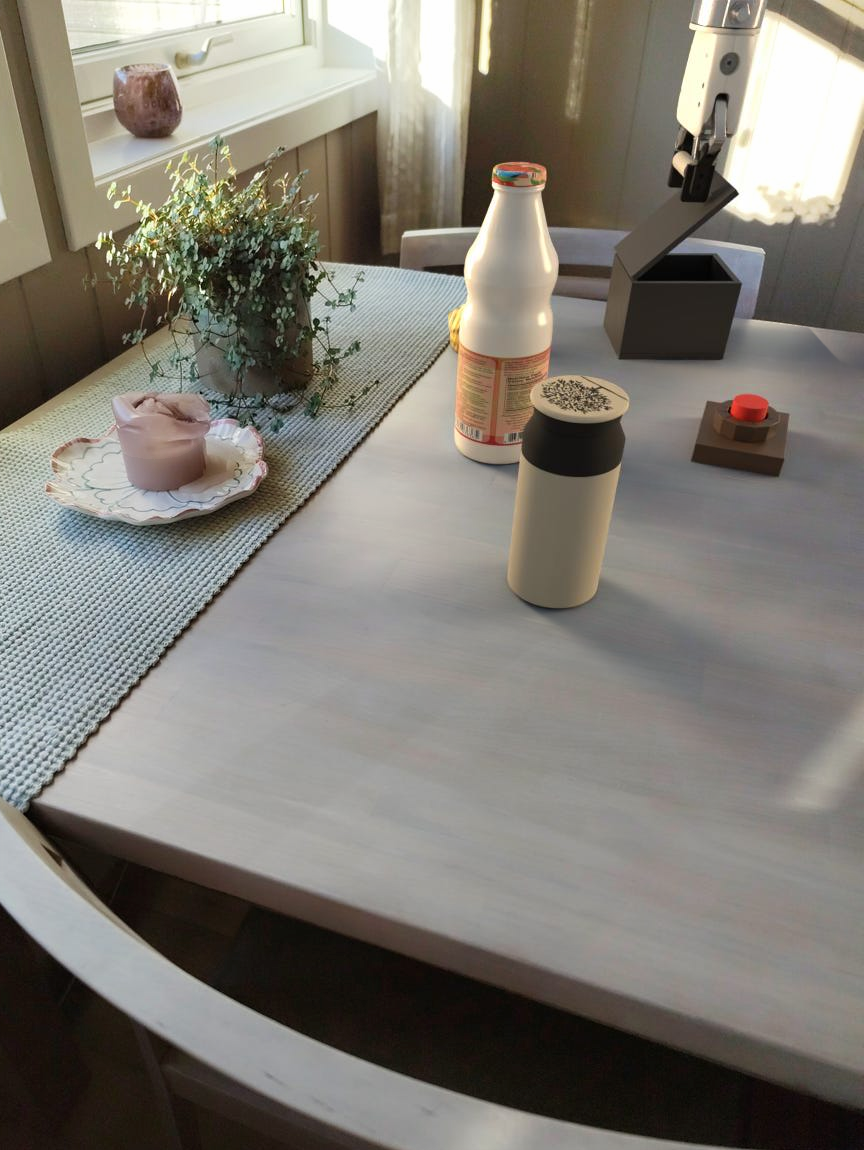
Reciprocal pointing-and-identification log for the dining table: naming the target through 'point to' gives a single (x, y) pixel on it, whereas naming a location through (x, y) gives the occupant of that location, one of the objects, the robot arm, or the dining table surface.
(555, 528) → the travel mug
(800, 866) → the dining table surface
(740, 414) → the button
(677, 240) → the lid
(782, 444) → the panel
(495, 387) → the fruit juice
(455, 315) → the seashell
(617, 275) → the dark hinged lid box
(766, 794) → the dining table surface
